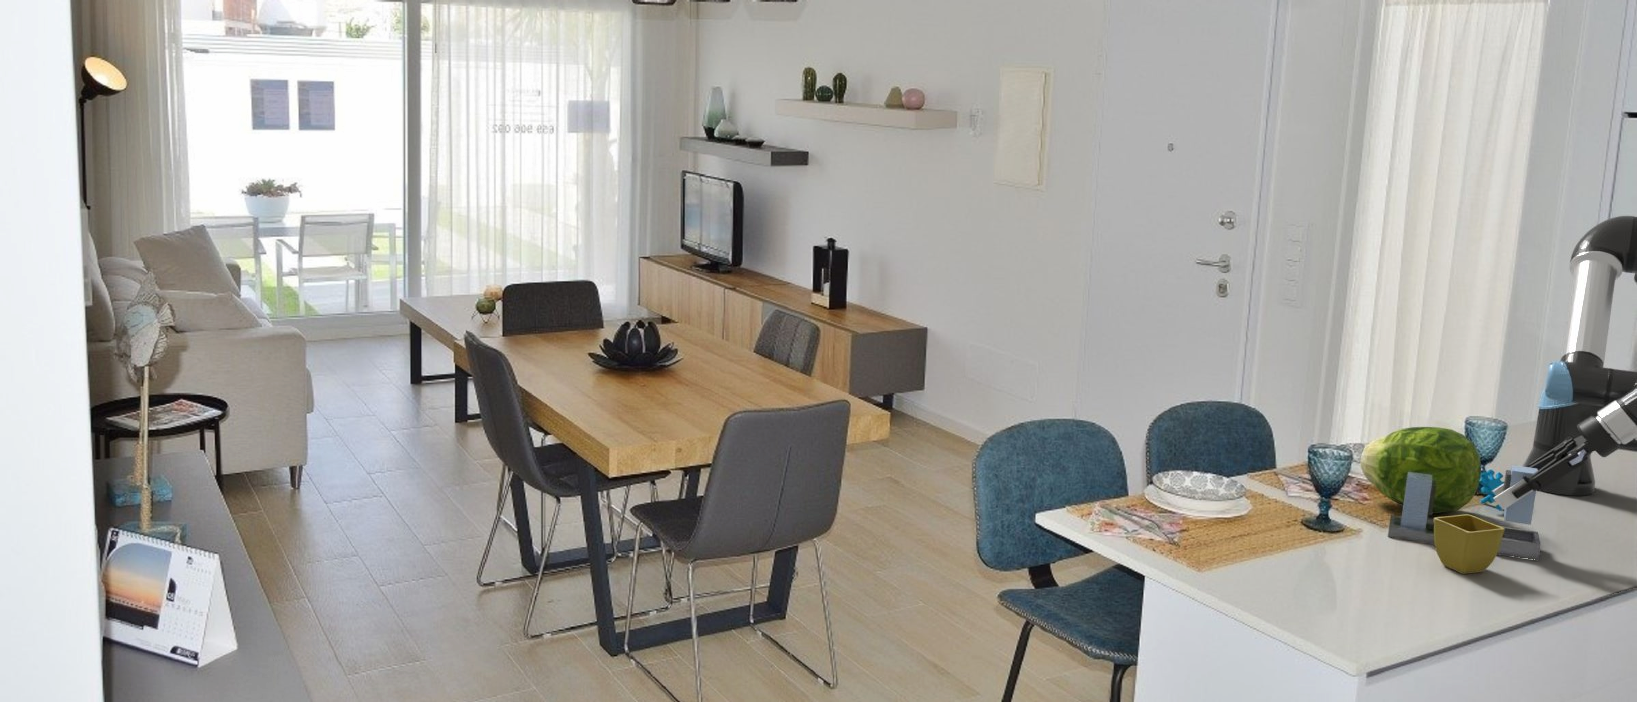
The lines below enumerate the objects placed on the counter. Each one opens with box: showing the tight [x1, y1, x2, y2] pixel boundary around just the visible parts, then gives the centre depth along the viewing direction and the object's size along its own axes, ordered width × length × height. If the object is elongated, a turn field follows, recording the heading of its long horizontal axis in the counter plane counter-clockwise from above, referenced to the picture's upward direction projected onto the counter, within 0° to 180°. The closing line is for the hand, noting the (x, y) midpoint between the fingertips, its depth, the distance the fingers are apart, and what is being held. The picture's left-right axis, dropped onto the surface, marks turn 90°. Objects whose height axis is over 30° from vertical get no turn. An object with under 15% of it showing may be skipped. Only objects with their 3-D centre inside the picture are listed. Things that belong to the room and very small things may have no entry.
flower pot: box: [1433, 513, 1505, 575], centre depth 259 cm, size 9×9×9 cm
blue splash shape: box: [1479, 469, 1505, 511], centre depth 298 cm, size 11×6×10 cm
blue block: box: [1503, 464, 1538, 526], centre depth 268 cm, size 4×5×10 cm
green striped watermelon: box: [1359, 426, 1482, 514], centre depth 293 cm, size 19×23×18 cm
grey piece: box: [1387, 472, 1542, 561], centre depth 273 cm, size 9×27×12 cm, turn 66°
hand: (1498, 500), depth 270 cm, fingers closed on blue block, 4 cm apart
